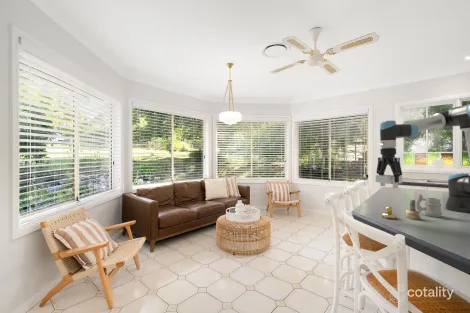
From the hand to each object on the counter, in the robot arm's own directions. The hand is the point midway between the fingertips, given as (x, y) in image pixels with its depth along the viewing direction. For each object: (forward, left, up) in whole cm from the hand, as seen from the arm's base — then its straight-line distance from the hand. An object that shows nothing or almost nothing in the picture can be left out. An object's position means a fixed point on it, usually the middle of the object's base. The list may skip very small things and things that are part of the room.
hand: (388, 187), depth 132 cm
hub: (0, 0, -17) cm, 17 cm away
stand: (-12, +3, -17) cm, 21 cm away
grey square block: (0, 0, +3) cm, 3 cm away
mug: (-26, -1, -18) cm, 31 cm away
